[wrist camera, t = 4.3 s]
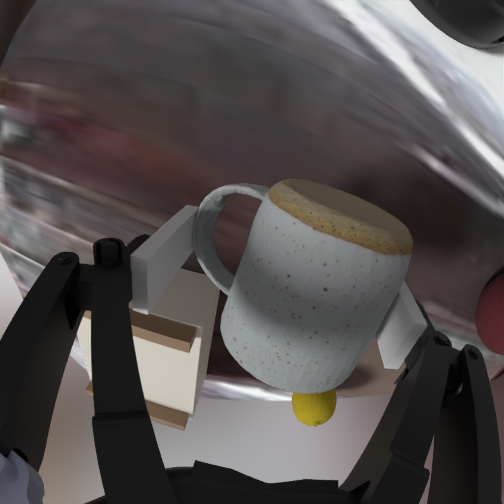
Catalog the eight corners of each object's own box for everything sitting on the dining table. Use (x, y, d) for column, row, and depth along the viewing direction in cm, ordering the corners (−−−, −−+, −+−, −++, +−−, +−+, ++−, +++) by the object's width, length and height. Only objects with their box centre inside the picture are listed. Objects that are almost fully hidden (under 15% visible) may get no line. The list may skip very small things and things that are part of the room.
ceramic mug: (395, 204, 15) (457, 267, 8) (344, 315, 18) (356, 409, 12) (216, 147, 15) (148, 171, 8) (192, 271, 19) (139, 350, 12)
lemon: (306, 393, 37) (306, 440, 29) (284, 373, 35) (281, 423, 28) (340, 378, 35) (346, 426, 28) (321, 356, 33) (325, 408, 26)
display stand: (222, 278, 30) (196, 343, 21) (206, 373, 37) (188, 432, 28) (106, 248, 30) (54, 293, 21) (116, 345, 37) (84, 393, 28)
